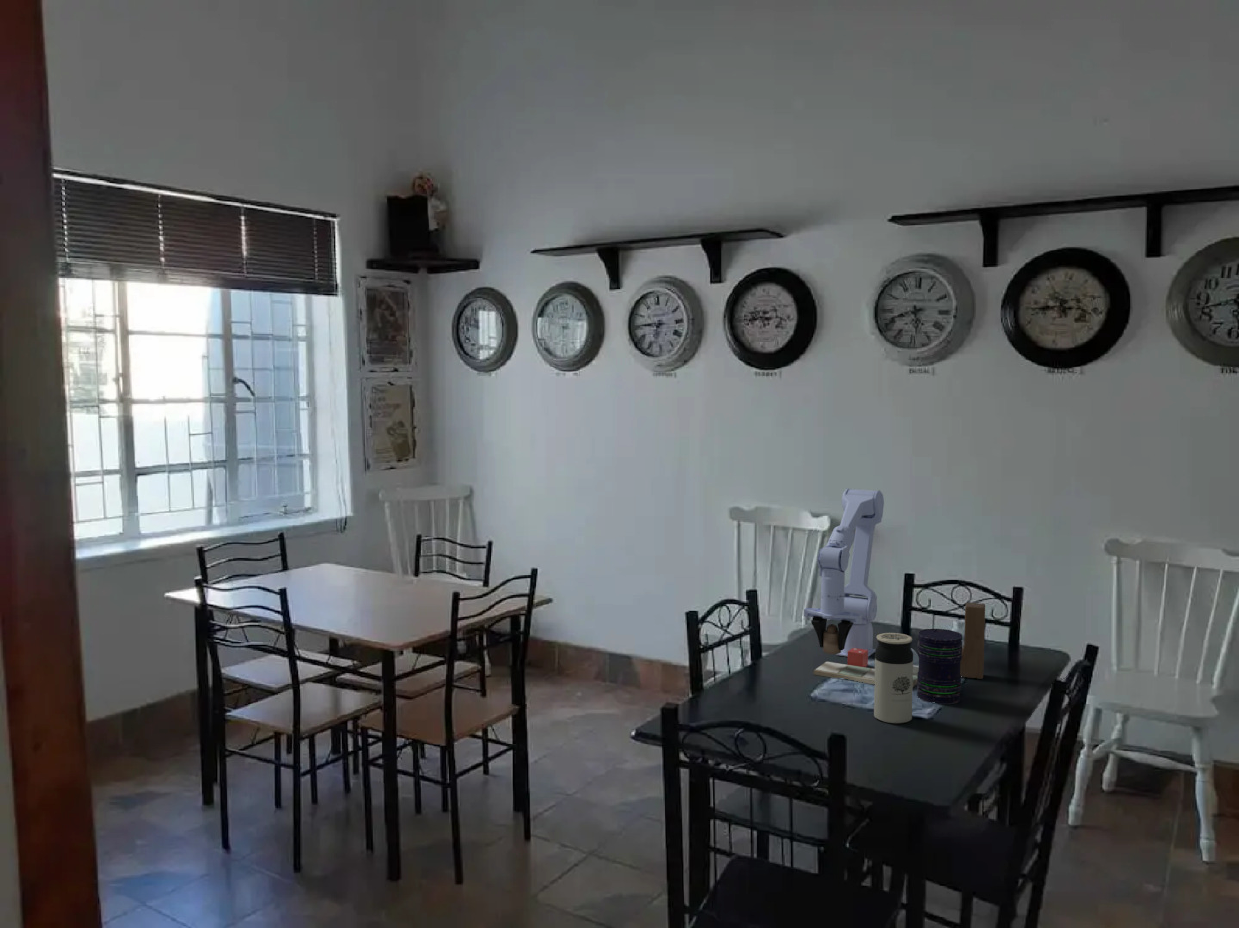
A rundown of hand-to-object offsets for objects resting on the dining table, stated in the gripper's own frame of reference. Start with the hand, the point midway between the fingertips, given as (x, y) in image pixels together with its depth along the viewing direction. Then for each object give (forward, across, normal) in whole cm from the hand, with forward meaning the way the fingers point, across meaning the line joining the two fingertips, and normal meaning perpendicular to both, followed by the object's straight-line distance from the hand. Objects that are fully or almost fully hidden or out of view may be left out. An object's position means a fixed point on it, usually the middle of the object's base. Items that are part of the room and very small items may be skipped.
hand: (832, 647), depth 249 cm
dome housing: (+6, +16, +10) cm, 20 cm away
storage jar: (+6, +28, -6) cm, 29 cm away
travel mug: (+6, +23, -25) cm, 35 cm away
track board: (+6, +9, 0) cm, 11 cm away
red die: (+6, +4, +8) cm, 11 cm away
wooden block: (+6, +29, +14) cm, 33 cm away
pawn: (+1, 0, 0) cm, 1 cm away
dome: (+6, +16, +10) cm, 20 cm away
